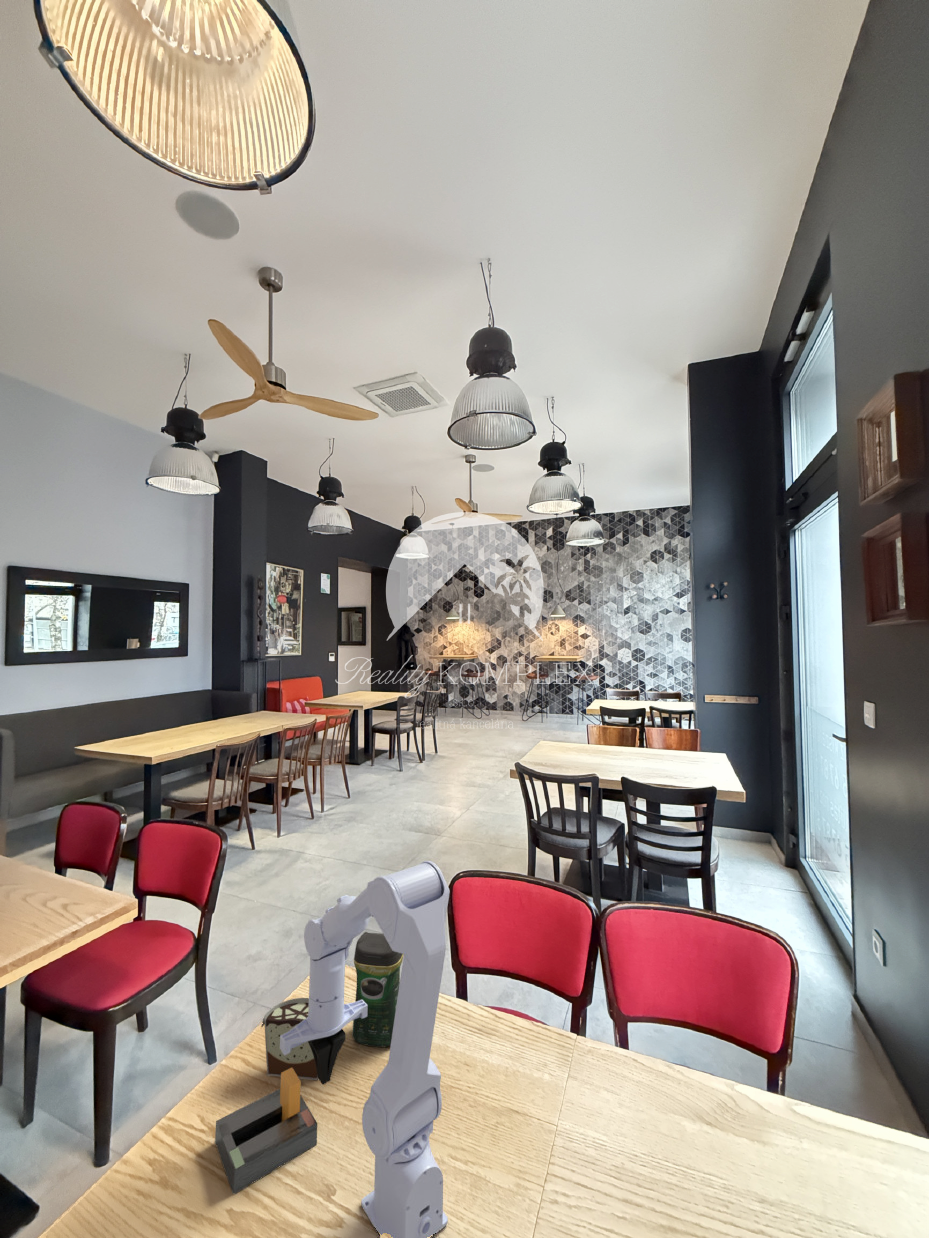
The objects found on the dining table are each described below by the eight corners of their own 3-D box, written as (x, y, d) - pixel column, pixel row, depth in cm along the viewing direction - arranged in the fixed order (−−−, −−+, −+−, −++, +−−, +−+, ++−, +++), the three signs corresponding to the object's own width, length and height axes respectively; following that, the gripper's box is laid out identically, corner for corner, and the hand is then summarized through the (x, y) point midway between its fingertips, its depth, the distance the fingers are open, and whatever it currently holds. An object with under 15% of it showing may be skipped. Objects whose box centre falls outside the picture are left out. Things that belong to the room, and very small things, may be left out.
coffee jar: (406, 1023, 105) (408, 928, 107) (394, 1052, 97) (397, 949, 99) (361, 1017, 107) (363, 923, 108) (346, 1045, 99) (349, 943, 101)
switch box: (316, 1144, 79) (317, 1123, 79) (233, 1194, 71) (234, 1170, 71) (292, 1100, 86) (293, 1081, 87) (214, 1142, 79) (216, 1120, 79)
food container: (338, 1054, 97) (339, 998, 98) (326, 1080, 91) (328, 1020, 91) (275, 1049, 98) (277, 993, 99) (259, 1074, 92) (261, 1014, 93)
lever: (298, 1131, 80) (300, 1081, 81) (287, 1137, 79) (289, 1087, 80) (290, 1115, 83) (292, 1067, 84) (279, 1121, 82) (281, 1072, 82)
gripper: (355, 964, 94) (352, 1044, 92) (274, 996, 85) (271, 1085, 83) (374, 983, 88) (372, 1068, 87) (290, 1019, 79) (286, 1115, 78)
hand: (323, 1078), depth 85 cm, fingers closed
